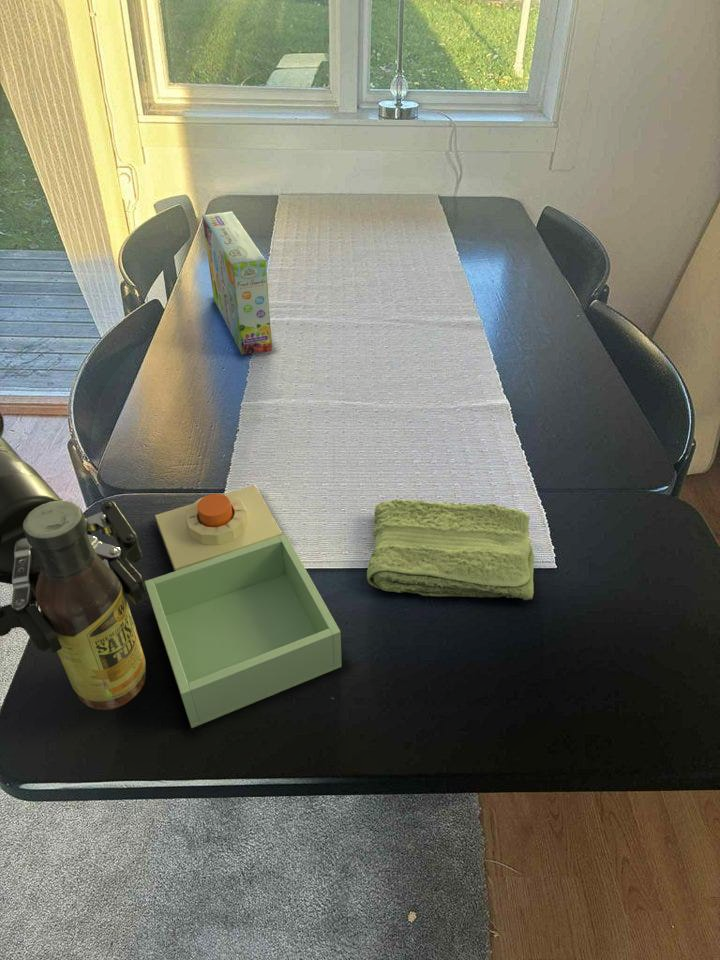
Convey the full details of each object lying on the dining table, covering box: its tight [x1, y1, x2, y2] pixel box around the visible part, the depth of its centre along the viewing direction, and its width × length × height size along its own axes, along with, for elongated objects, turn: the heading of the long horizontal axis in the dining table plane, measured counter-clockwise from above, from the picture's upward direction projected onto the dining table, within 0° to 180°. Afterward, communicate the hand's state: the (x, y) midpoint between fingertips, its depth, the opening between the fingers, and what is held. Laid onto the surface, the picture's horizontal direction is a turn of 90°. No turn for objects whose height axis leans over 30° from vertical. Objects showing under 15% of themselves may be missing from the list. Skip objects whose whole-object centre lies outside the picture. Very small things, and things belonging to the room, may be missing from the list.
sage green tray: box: [144, 533, 343, 729], centre depth 67 cm, size 15×14×6 cm
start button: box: [197, 493, 232, 527], centre depth 77 cm, size 4×4×2 cm
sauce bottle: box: [23, 499, 147, 711], centre depth 56 cm, size 7×6×20 cm
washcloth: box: [366, 499, 535, 601], centre depth 76 cm, size 13×18×3 cm
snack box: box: [201, 210, 273, 356], centre depth 112 cm, size 21×6×15 cm, turn 22°
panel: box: [154, 484, 283, 572], centre depth 78 cm, size 12×9×4 cm
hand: (97, 618), depth 54 cm, fingers closed on sauce bottle, 6 cm apart
